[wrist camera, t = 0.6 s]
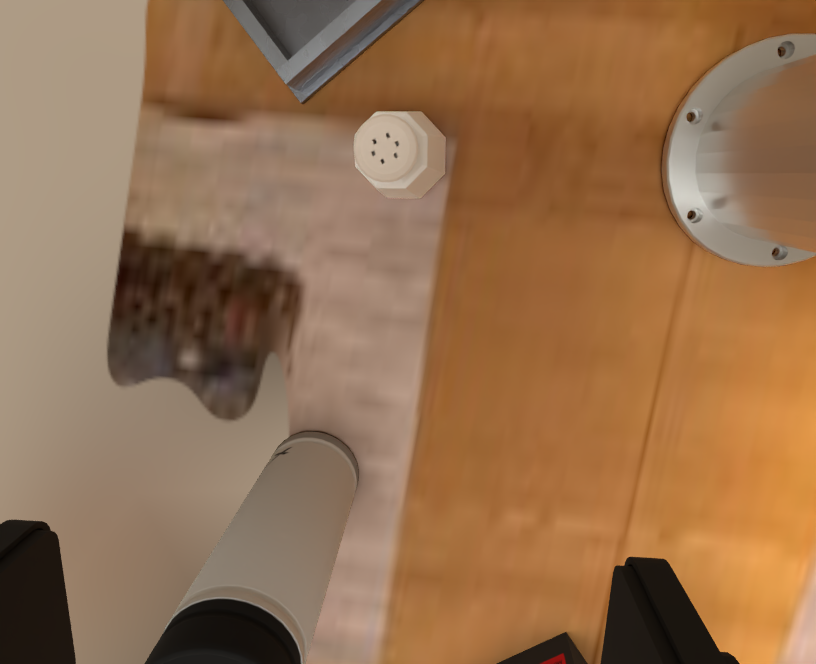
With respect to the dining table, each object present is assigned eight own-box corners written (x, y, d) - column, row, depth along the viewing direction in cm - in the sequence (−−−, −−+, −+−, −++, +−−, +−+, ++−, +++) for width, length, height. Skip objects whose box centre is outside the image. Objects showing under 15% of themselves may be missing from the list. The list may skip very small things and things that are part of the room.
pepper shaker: (429, 92, 35) (421, 57, 24) (462, 181, 36) (467, 184, 25) (345, 129, 36) (301, 111, 25) (380, 215, 37) (352, 232, 26)
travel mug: (267, 424, 41) (106, 648, 22) (362, 435, 41) (284, 671, 21) (265, 504, 43) (114, 779, 23) (356, 515, 42) (279, 801, 23)
